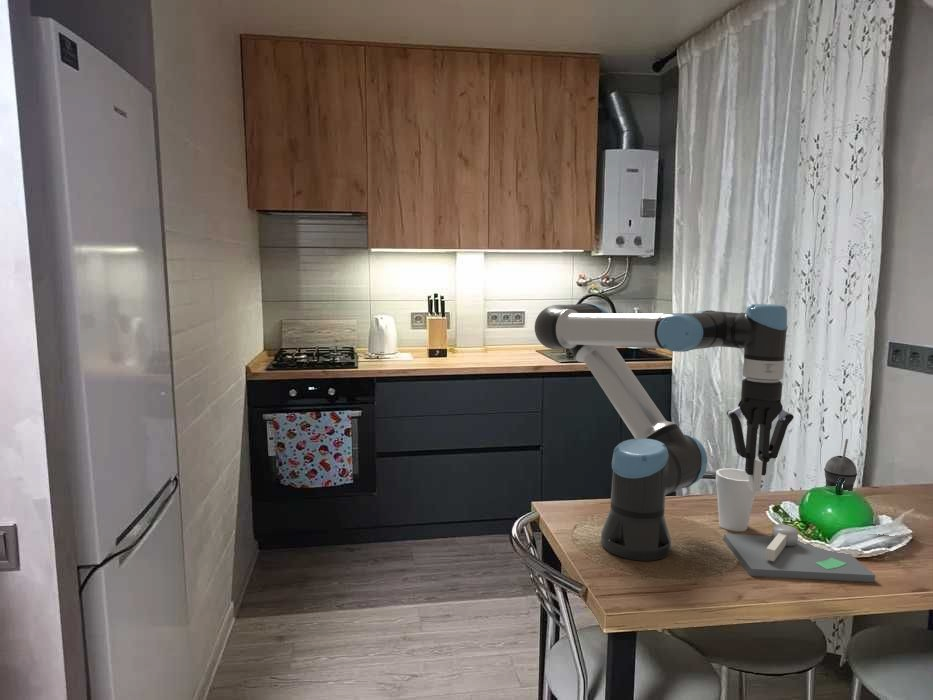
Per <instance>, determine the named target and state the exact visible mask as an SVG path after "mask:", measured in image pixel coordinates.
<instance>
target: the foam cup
mask: <svg viewBox="0 0 933 700" xmlns="http://www.w3.org/2000/svg"><path fill="white" fill-rule="evenodd" d="M715 471H716V472H715V484H716V499H717V512H718V513H717V514H718V523H719V524H718V525H719V526H720V527H721V528H722V529H725V530H726V531H727V530H728V531H732V532H745V531H747V530H748V527H749V522H750V518H751V514H752V509H753V507H754V506H753V505H754V502H755V501H754V500H755V496H756V492H753V491H752V490H751V489H750V488H749V487H748V484H749V475H748V474H747V473H746V472H745V469H744V470H743V469H738V468H730V467H727V468H719V469H717V470H715Z"/></svg>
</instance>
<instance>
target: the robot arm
mask: <svg viewBox="0 0 933 700" xmlns="http://www.w3.org/2000/svg"><path fill="white" fill-rule="evenodd" d="M787 330H788V310H787V308H786V307H785V306H784V305H782V304H764V303H758V304H757V303H754V304H753V303H752V304H751V303H750V304H749V305H748V306H747V307H746V311H745V312H732V311H731V312H729V311H716V310H712V309H711V310H710V309H709V310H697V311H695V312H692V313H686V312H685V313H678V312H676V313H658V312H657V313H656V312H655V313H648V312H647V313H646V312H645V313H644V312H643V313H640V312H639V313H638V312H637V313H635V312H634V313H631V312H630V313H629V312H625V313H622V312H620V313H619V312H618V313H617V312H616V313H614V312H610V313H609V312H608V311H607V310H606V309H605V308H604V307H602V306H600V305H598V304H594V303H590V302H589V303H588V302H583V303H582V302H581V303H579V304H553V305H550V306H547V307H545V308H544V309H542V310H541V311H540V312H539V314H538V315H537V317H536V318H535V321H534V332H535V336H536V339H537V340H538V341H539V343H540V344H541V345H542V346H544V347H545V348H548V349H549V350H555V351H556V350H560V351H561V350H563V351H564V350H569V351H570V353H571V354H572V356H573V357H574V359H575V361H576V362H578V363H585V364H586V367H587V368H588V370H589V371H590V372H591V374H592V375H593V377H594V379H595V380H596V381H597V383H598V384H599V387H601V389H602V390H603V392H604V394H605V396H607V397H606V398H608V400H609V401H610V403H611V404H612V406H613V407H614V409H615V410H616V412H617V413H618V415H619V417H620V418H621V419H622V421H623V423H624V424H625V426H626V427H627V428H628V430H629V431H630V434H632V436H633V438H630V439H627V440H623V441H622V442H619V443H618V444H617V445H616V446H615V447H614V449H613V454H612V459H611V486H610V487H611V488H610V508H609V513H608V515H607V517H606V520H605V522H604V524H603V527H602V529H601V532H600V533H601V534H600V544H601V546H602V547H603V548H604V549H605V550H606V551H608V552H609V553H611V554H613V555H615V556H617V557H620V558H623V559H627V560H632V561H633V560H634V561H641V562H642V561H644V562H645V561H646V562H647V561H648V562H649V561H656V560H663V559H664V558H666V557H668V556H669V555H670V554H671V549H672V539H671V535H670V533H669V528H668V524H667V521H666V518H665V507H666V495H669V494H671V493H673V492H677V491H678V490H681V489H685V488H689V487H691V486H692V485H694V484H695V483H697V482H699V481H700V480H702V478H703V477H704V476H705V474H706V471H707V468H708V467H707V466H708V455H707V451H706V449H705V447H704V445H703V444H702V443H701V441H700V440H698V439H697V438H696V437H694V436H692V435H689V434H685V433H683V431H682V430H681V428H680V427H679V426H678V424H677V423H676V422H673V421H668V420H666V418H665V417H664V416H663V414H662V412H661V410H660V409H659V408H658V407H657V405H656V404H655V402H654V401H653V400H652V398H651V397H650V396H649V393H648V392H647V391H646V389H645V388H644V387H643V385H642V384H641V383H640V381H639V379H638V378H637V376H636V375H635V374H634V372H633V371H632V369H631V368H630V366H629V365H628V363H627V362H626V361H625V359H624V358H623V356H622V355H621V354H620V352H619V350H618V349H617V348H616V347H620V348H641V349H659V350H663V349H664V350H667V351H670V352H675V353H676V352H677V353H679V352H680V353H681V352H682V353H683V352H684V353H685V352H689V351H693V350H699V349H700V350H701V349H710V348H716V347H719V348H720V347H723V348H732V349H733V348H734V349H743V366H742V376H743V377H744V378H743V379H742V380H741V391H740V392H741V395H740V398H741V399H740V401H739V402H738V405H737V407H736V408H733V409H732V410H730V409H729V410H727V411H726V415H727V417H728V419H729V420H730V423H731V428H732V433H733V440H734V445H735V451H736V454H738V455H739V456H740V457H741V458H745V464H744V465H745V467H744V470H745V472H746V473H747V474H748V475H749V484H748V487H749V488H750V489H751V490H752V491H753V492H755V493H760V492H761V488H762V476H766V475H767V468H768V463H769V462H770V460H771V459H777V458H778V455H779V453H780V450H781V447H782V445H783V444H782V443H783V441H784V438H785V435H786V433H787V432H786V431H787V429H788V426H789V425H790V423H791V422H792V421H793V420H794V418H795V417H794V414H792V413H790V412H787V411H786V410H784V407H783V405H782V401H781V399H782V393H783V383H782V381H780V380H782V379H783V378H784V366H785V351H786V342H787V341H786V340H787ZM741 414H742V415H743V417H744V418H745V420H746V437H745V438H744V432H743V426H742V423H741V420H740V419H741V418H742V415H741ZM776 418H778V419H777V421H776V424H775V426H774V429H773V433H772V436H771V430H772V428H773V426H772V425H773V422H774V420H775V419H776ZM758 430H759V434H758ZM758 435H759V436H758ZM745 439H746V440H745ZM757 441H758V449H757ZM756 454H757V456H758V457H756Z"/></svg>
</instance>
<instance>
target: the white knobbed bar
mask: <svg viewBox="0 0 933 700" xmlns="http://www.w3.org/2000/svg"><path fill="white" fill-rule="evenodd" d="M771 533H772V534H771V536H772V540H773V541H772V542H771V543H770V544H769V546H768V547H767V548H766V559H767V560H770V561H775V559H776V558H777V557H778V555H779V554H780V553H781V551H782V550H783V548H784V547H785V546H786V545H787V546H794V545H796V544H797V539H798V537H799V530H798V529H797V528H796V527H794V526H791V525H788V524H781V523H780V524H779V523H777V524H774V525H772V532H771Z"/></svg>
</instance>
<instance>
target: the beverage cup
mask: <svg viewBox="0 0 933 700" xmlns="http://www.w3.org/2000/svg"><path fill="white" fill-rule="evenodd" d="M848 442H849V439H848V438H845V442H844V446H843V452H842V453H843V454H842V455H835V456H832V457H831V458H830V459H828V460H827V461H826V463H825V466H824V468H823V470H824V477H825V488H826V487H827V486H836V484H837V481H838V479H839V478H846V480H845V482H844V483H843V489H844V490H848V491H852V492H853V489H854V485H855V483H856V481H857V480H856V479H857V476H858V473H857V472H858V469H857V467H856V464H855V463H854V461H853V460H852V459H850V458H849V457H847V456H846V453H847V448H848Z"/></svg>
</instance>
